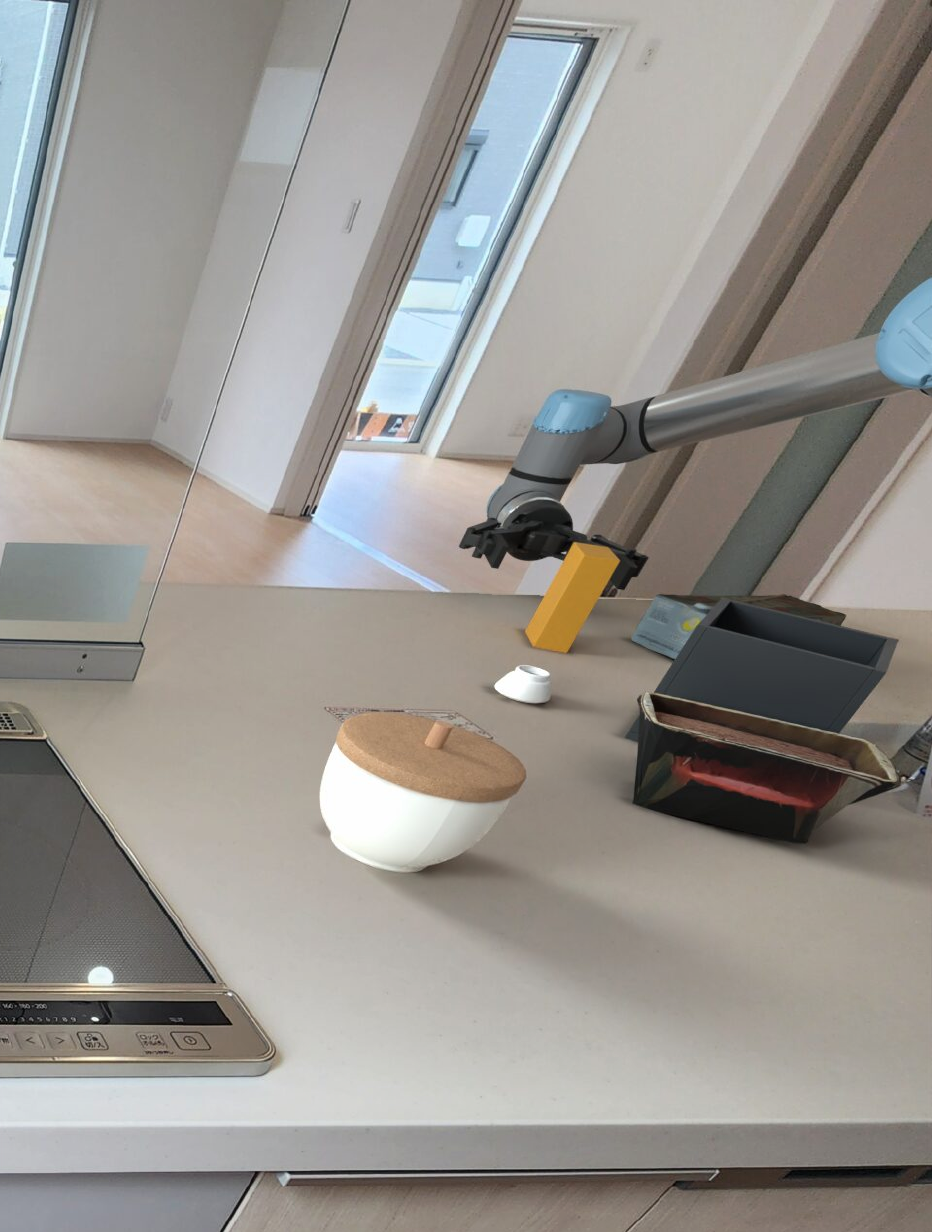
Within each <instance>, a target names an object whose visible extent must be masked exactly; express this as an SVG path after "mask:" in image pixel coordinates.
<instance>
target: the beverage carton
mask: <svg viewBox="0 0 932 1232" xmlns="http://www.w3.org/2000/svg"><path fill="white" fill-rule="evenodd" d="M722 598H726V599H730V600H735V601H739V602H743V603H747V604H751V605H756V606H760V607H764V608H768V609H772V610H776V611H781V612H785V613H789V614H793V615H797V616H802V617H806V618H810V619H814V620H818V621H823V622H827V623H831V624H835V625H839V626H842V624H843V622H844V621H845V620H846V618H847V614H845V613H843V612H840V611H835V610H832V609H829V608H826V607H823V606H822V605H820V604H817V603H814V602H809V601H806V600H804V599H801V598H798V597H795V596H792V595H787V594H784V593H781V594H777V595H776V594H774V595H773V594H770V595H710V594H709V595H708V594H707V595H706V594H705V595H703V594H701V595H699V594H697V595H696V594H690V595H689V594H686V595H684V594H666V593H665V594H663V593H659V594H656V595H655V596H654V598H653V600H652V601H651V603H650V605H649V606H648V608H647V610H646V611H645V613H644V615H642V617H641V619H640V622H638V624H637V626H636V628H635V630H634V633H633V634H632V637H631V642H633V643H635V644H638V645H640V646H642V647H644V648H646V649H648V650H650V651H653V652H656V653H658V654H661V655H664V656H666V657H667V658H670V659H672V660H675V659H676V657H677V655H678V654H679V652H680V651H681V649H682V648H683V646H684V645H685V643H686V642H687V640H688V638H689V637H690V635H691V634H692V632H693V631H694V629H695V628H696V626H697V625H698V624H699V623H700V622H701V620H702V619H703V618H704V617H705V616H706V615H707V614H708V613H709V612H710V611H711V610H712V609H713V607H714V606H715V605H716V604H717V603H718V602H719V601H720V600H721V599H722Z"/></svg>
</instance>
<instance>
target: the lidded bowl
mask: <svg viewBox="0 0 932 1232" xmlns="http://www.w3.org/2000/svg"><path fill="white" fill-rule="evenodd" d="M526 779H527V770H526V768H525V766H524V764H523V763H522V761H521V760H520V759H519V758H518V757H517V756H515V754H513V753H512V752H511V751H509V750H508V749H506V748H505V747H504V746H502V745H500V744H498V743H496V742H495V741H493V740H491V739H489V738H487V737H484V736H483V735H480V734H478V733H476V732H473V731H470V730H468V729H466V728H462V727H460V726H457V725H454V724H452V723H450V722H447V721H445V720H436V719H432V718H428V717H422V716H418V715H411V714H405V713H397V712H367V713H359V714H356V715H352V716H351V717H348V718H347V719H346V720H344V721H343V723H341V724H340V727H339V729H338V732H337V734H336V738H335V743H334V745H333V746H332V748H331V751H330V754H329V756H328V758H327V761H326V764H325V766H324V771H323V773H322V777H321V780H320V781H321V782H320V786H319V808H320V812H321V813H320V814H321V816H322V818H323V821H324V823H325V825H326V827H327V829H328V831H329V832H330V840H331V842H332V844H333V845H334V846H335V848H337V849H338V850H339V851H340V852H342V853H343V854H345V855H346V856H348V857H350V858H351V859H353V860H355V861H357V862H359V863H362V864H364V865H367V866H369V867H372V868H375V869H378V870H381V871H386V872H392V873H405V874H410V873H417V872H421V871H423V870H425V869H426V868H427V867H429V866H434V865H438V864H441V863H444V862H447V861H449V860H451V859H454V858H456V857H458V856H460V855H461V854H464V853H465V852H466V851H467V850H469V849H470V848H472V847H473V846H474V845H476V844H477V843H478V842H479V841H480V840H481V839H482V838H484V836H485V835H486V834H487V833H488V832H489V831H490V830H491V829H492V827H494V826H495V824H496V822H497V821H498V820H499V819H500V818H501V816H502V814H503V813H504V811H505V810H506V808H507V807H508V805H509V803H510V802H511V800H512V798H513V797H514V796H515V795H516V794H518V792H519V791H520V789H521V788H522V786H523V784H524V782H525V781H526Z"/></svg>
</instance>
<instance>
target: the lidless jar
mask: <svg viewBox="0 0 932 1232" xmlns="http://www.w3.org/2000/svg"><path fill="white" fill-rule="evenodd" d="M550 677H551V673H550V672H549V671H548V670H545V669H544V668H540V667H538V666H534V665H529V664H520V665H519V664H518V666H516V667H515V670H511V671H509V672H508V673H507V674H505V675H504V676H503V677H502V678H501V679H499V680H498V681H496V682H495V684H494V689H495V691H497V692H498V693H499V694H500V695H502V696H503V697H505V698H508V699H510V700H513V701H515V702H516V701H517V702H519V703H525V704H543V703H547V702H548V701H550V698H551V696H552V694H551V691H552V690H551V689H552V687H551V686H552V685H551V681H550V680H549V679H550Z"/></svg>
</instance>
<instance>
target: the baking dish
mask: <svg viewBox="0 0 932 1232" xmlns="http://www.w3.org/2000/svg"><path fill="white" fill-rule="evenodd" d="M636 702H637V705H638V708H639V714H640V720H639V736H638V742H637V752H636V754H637V755H636V765H635V778H634V788H633V800H632V805H635V806H638V807H641V808H644V809H647V810H649V811H653V812H654V811H655V812H658V813H662V814H666V815H671V816H675V817H679V818H683V819H685V820H686V819H687V820H691V821H696V822H700V823H704V824H709V825H714V826H718V827H722V828H727V829H732V830H736V831H740V832H745V833H749V834H754V835H757V836H762V837H767V838H771V839H775V840H780V841H784V842H789V843H794V844H804V845H806V844H808V843H809V841H810V838H811V836H812V833H813V832H814V831H815V830H816V829H818V828H819V827H820V826H821V825H823V824H825V823H826V822H827V821H828V820H830V819H832V817H834V816H836V814H838V813H839V812H841V811H842V810H844V809H845V808H846V807H848V806H850V805H853V804H856V803H859V802H862V801H864V800H867V799H870V798H873V797H875V796H876V797H877V796H878V795H881V794H884V793H887V792H889V791H892V790H894V789H897V788H899V787H901V786H902V777H901V775H900V774H899V771H898V770H897V767H896V765H895V764H894V763H893V762H892V760H891V759H890V758H889V756H888V755H887V754H886V753H885V752H884V751H883V750H882V749H880V747H879V746H878V745H877V744H875V743H874V742H870V741H868V740H867V739H865V738H859V737H853V736H850V735H847V734H842V733H839V734H838V733H834V732H829V731H823V730H820V729H816V728H809V727H806V726H801V725H798V724H792V723H788V722H784V721H780V720H776V719H770V718H766V717H762V716H758V715H753V714H748V713H744V712H741V711H736V710H731V709H726V708H722V707H717V706H713V705H709V704H704V703H699V702H695V701H690V700H686V699H681V698H676V697H671V696H667V695H663V694H657V693H654V692H648V691H645V692H644V693H642V694H639V695H638V697H637V698H636Z"/></svg>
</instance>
